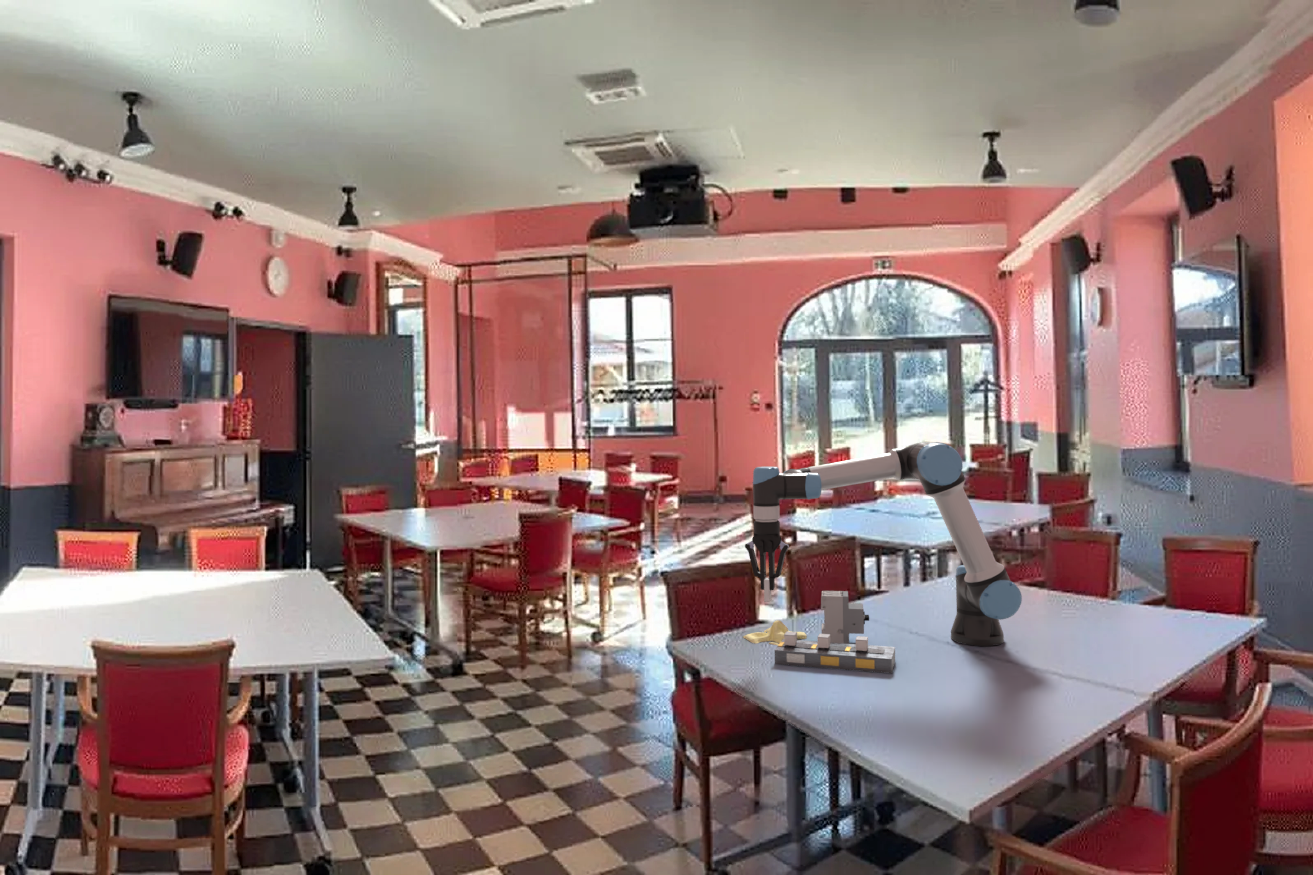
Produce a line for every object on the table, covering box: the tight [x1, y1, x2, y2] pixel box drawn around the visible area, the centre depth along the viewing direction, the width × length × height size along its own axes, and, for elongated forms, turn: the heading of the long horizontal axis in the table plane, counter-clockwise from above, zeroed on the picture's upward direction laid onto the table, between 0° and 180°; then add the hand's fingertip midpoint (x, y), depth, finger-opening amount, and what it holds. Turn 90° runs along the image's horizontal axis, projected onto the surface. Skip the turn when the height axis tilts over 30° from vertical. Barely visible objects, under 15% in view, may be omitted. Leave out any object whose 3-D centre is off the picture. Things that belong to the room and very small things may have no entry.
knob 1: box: [784, 630, 798, 646], centre depth 243 cm, size 3×4×3 cm
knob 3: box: [855, 635, 869, 651], centre depth 236 cm, size 3×4×3 cm
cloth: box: [742, 619, 808, 646], centre depth 265 cm, size 22×19×6 cm
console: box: [774, 639, 896, 675], centre depth 238 cm, size 32×12×4 cm, turn 70°
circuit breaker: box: [820, 590, 870, 644], centre depth 259 cm, size 8×14×15 cm, turn 78°
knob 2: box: [817, 633, 830, 648], centre depth 239 cm, size 3×4×3 cm
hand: (767, 601), depth 245 cm, fingers closed
